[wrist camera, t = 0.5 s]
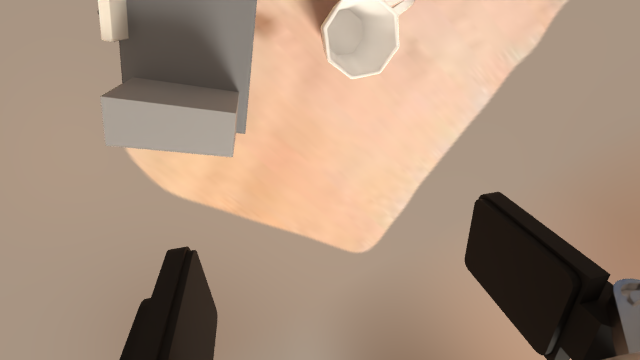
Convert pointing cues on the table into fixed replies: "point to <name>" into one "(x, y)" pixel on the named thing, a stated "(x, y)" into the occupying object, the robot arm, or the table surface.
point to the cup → (362, 35)
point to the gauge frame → (179, 73)
